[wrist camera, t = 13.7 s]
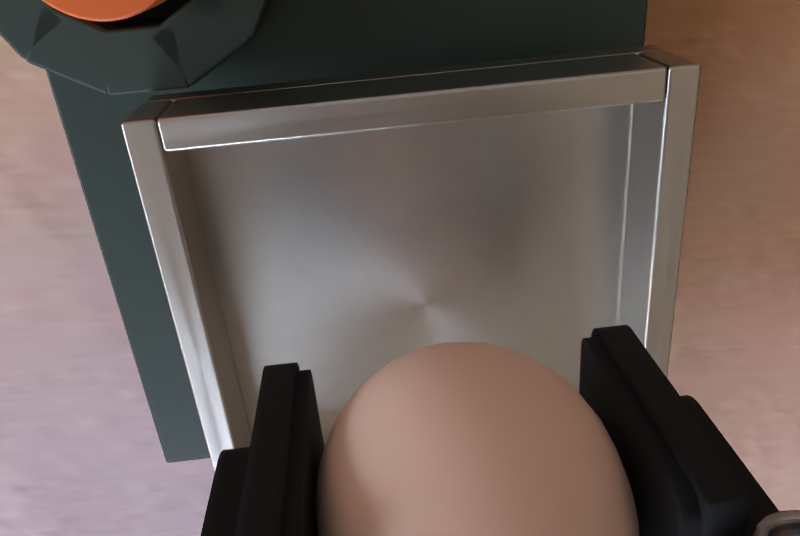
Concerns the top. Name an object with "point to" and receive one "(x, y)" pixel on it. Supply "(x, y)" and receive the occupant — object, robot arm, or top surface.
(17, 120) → the top surface
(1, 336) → the top surface
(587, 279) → the pan
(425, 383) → the egg
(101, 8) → the button
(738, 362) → the top surface
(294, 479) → the robot arm
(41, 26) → the scale
